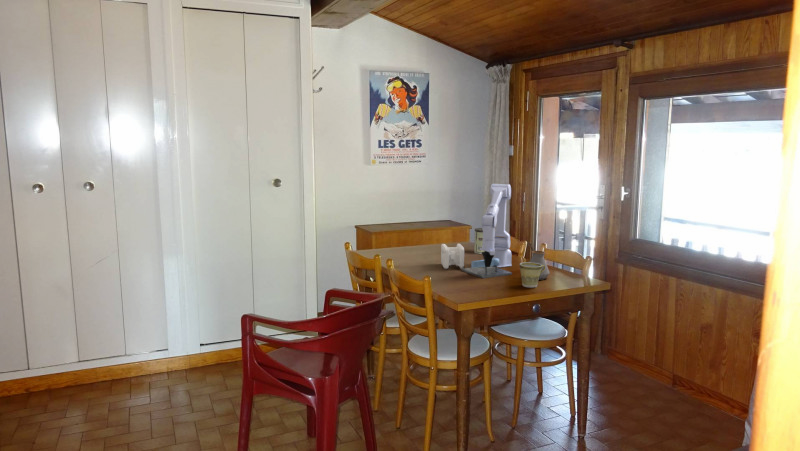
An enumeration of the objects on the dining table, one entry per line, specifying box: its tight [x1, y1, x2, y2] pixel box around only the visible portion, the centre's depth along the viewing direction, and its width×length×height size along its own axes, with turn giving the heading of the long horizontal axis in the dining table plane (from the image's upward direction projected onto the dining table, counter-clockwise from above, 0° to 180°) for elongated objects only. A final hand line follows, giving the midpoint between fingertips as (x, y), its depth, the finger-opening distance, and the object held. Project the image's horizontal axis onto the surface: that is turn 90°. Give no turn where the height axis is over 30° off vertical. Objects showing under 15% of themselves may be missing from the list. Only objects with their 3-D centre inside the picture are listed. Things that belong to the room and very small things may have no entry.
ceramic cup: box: [519, 261, 545, 289], centre depth 257 cm, size 13×10×10 cm
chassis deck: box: [460, 267, 513, 279], centre depth 282 cm, size 18×18×1 cm
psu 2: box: [470, 266, 485, 274], centre depth 277 cm, size 5×5×3 cm
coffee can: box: [473, 227, 485, 255], centre depth 332 cm, size 10×10×14 cm
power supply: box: [483, 266, 495, 273], centre depth 280 cm, size 5×5×3 cm
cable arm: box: [470, 258, 499, 268], centre depth 278 cm, size 16×4×3 cm, turn 118°
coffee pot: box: [526, 241, 550, 281], centre depth 276 cm, size 21×12×15 cm, turn 3°
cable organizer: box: [440, 243, 465, 270], centre depth 293 cm, size 15×11×12 cm
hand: (487, 266), depth 274 cm, fingers closed
